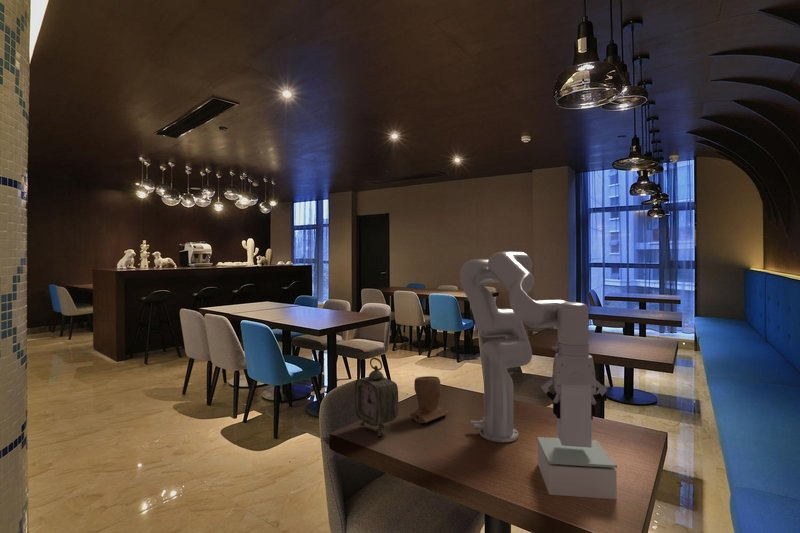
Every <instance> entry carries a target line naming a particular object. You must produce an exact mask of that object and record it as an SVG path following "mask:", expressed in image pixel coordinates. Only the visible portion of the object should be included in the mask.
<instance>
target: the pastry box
mask: <svg viewBox="0 0 800 533" xmlns="http://www.w3.org/2000/svg"><path fill="white" fill-rule="evenodd" d="M537 467H538V468H539V471H540V474H541V477H542V479H543V482H544V484H545V487H546V491H547V493H548V495H551V496H552V495H553V496H565V497H577V498H578V497H579V498H590V499H591V498H593V499H604V500H605V499H606V500H607V499H608V500H617V499H618V497H617V493H618V492H617V491H618V490H617V478H618V477H617V468H610V467H593V466H577V465H564V466H562V465H557V464H548V462H547V460H546V457H545V455H544V453H543V451H542V449H541V446H540V444H539V442H538V441H537Z"/></svg>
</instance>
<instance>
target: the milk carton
mask: <svg viewBox="0 0 800 533" xmlns="http://www.w3.org/2000/svg"><path fill="white" fill-rule="evenodd" d="M559 403H560V419H557V418H556V435H557V438H559V440H560V442H561V444H562V445H563V446H576V447H590V448H591V447H592V440H593V439H592V420H591V386H590V384H589V385H583V384H582V385H579V384H578V385H561V395H560V400H559Z"/></svg>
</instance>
